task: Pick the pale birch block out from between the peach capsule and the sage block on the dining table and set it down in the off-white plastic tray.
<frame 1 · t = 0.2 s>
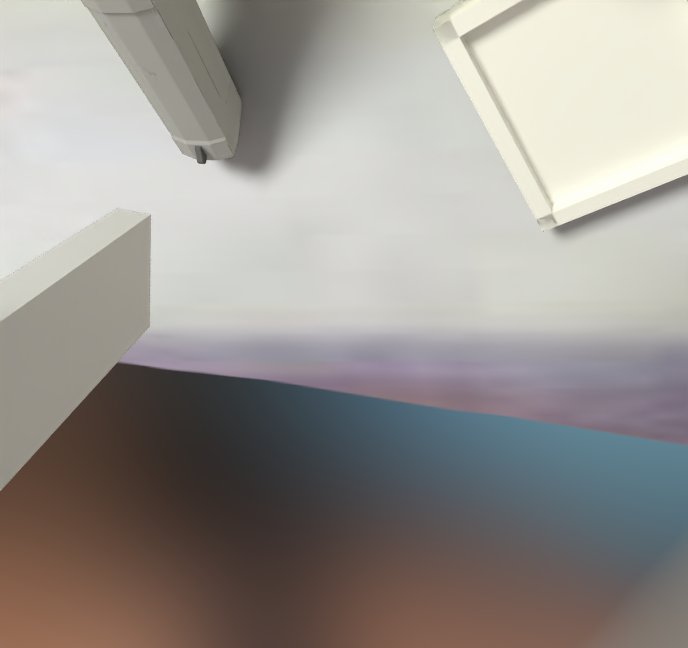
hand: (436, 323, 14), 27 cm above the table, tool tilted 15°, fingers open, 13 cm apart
tray: (594, 73, 36), on the table
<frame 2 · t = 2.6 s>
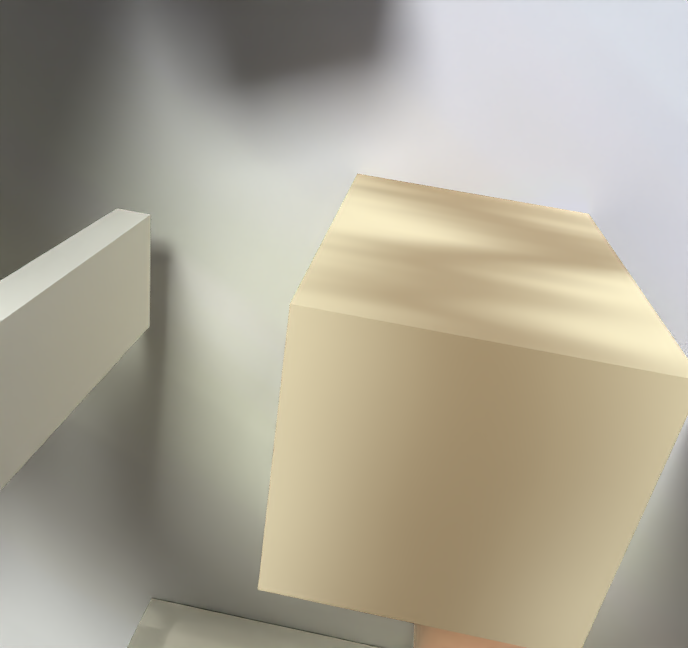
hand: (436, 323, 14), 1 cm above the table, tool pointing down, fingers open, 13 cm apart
peach capsule: (485, 597, 19), on the table
birch block: (447, 298, 15), on the table
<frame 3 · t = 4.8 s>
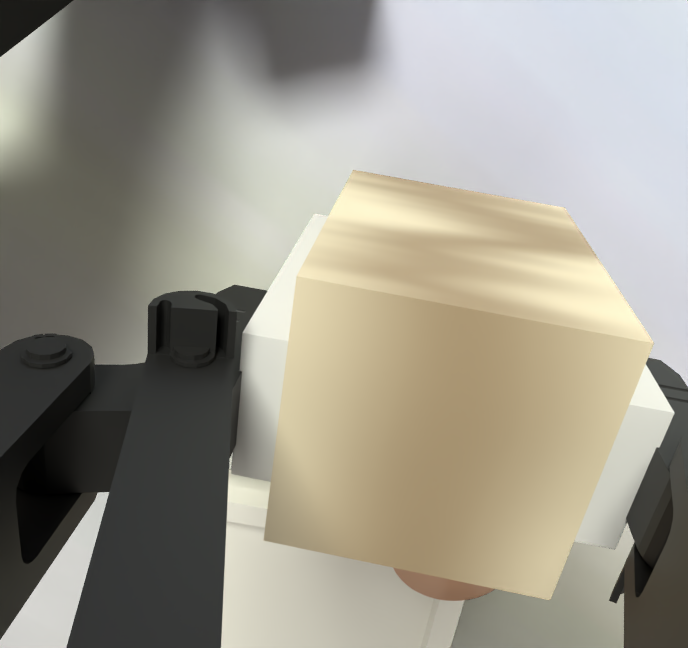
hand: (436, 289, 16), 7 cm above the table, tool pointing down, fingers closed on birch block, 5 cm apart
tray: (316, 605, 31), on the table
peach capsule: (444, 446, 27), on the table
birch block: (435, 286, 17), point 7 cm above the table, touching gripper
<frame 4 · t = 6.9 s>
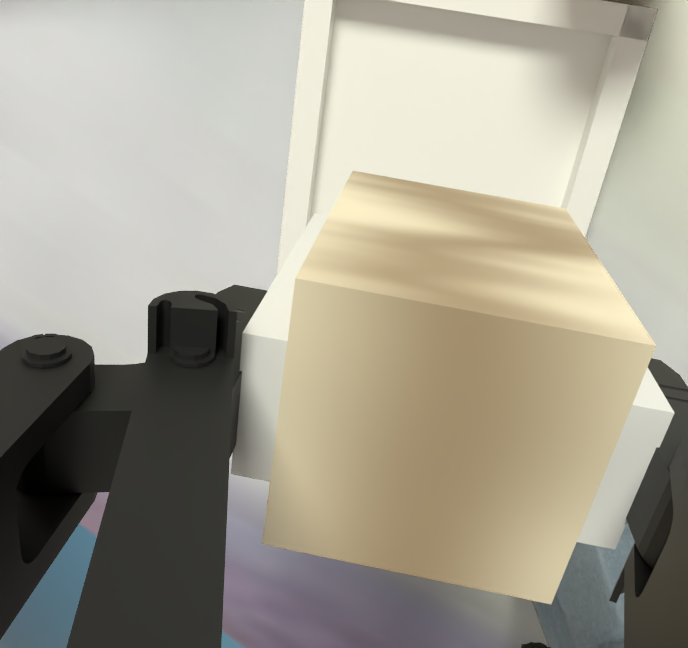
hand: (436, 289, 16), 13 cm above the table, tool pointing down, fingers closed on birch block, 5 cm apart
moka pot: (594, 543, 35), on the table
tray: (439, 171, 27), on the table
birch block: (435, 287, 16), point 12 cm above the table, touching gripper
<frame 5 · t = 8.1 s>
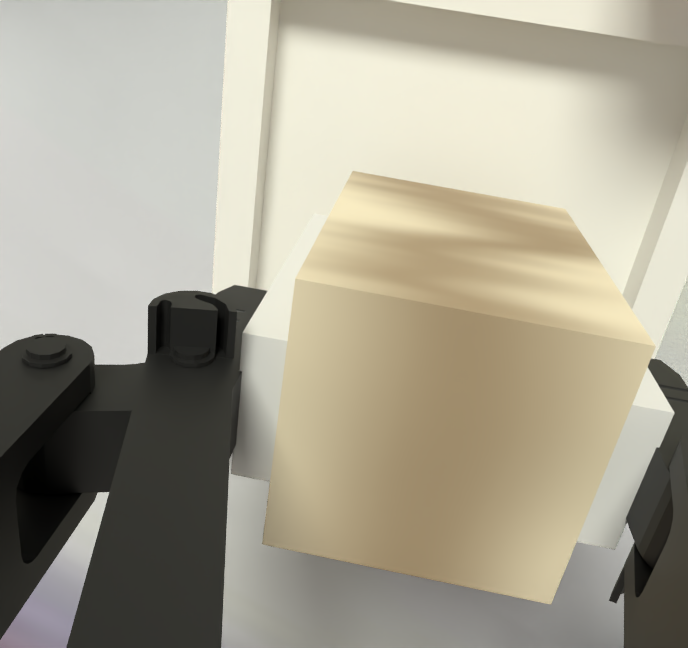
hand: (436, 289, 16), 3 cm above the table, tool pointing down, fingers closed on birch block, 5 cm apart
tray: (439, 245, 19), on the table
birch block: (435, 287, 16), point 3 cm above the table, touching gripper
when the fingers open (2 cm above the table, at t = 9.1 s): birch block stays where it is, resting on tray.
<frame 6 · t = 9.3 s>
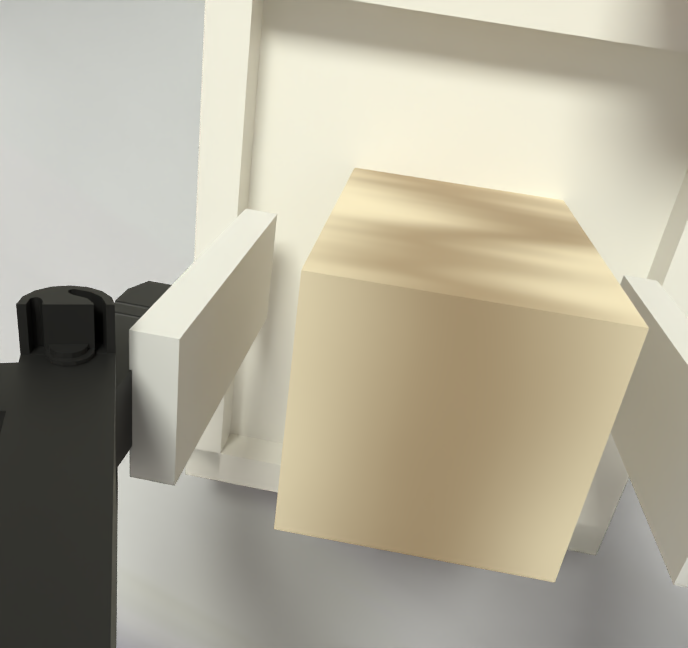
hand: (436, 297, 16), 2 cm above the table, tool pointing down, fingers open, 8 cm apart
tray: (436, 265, 18), on the table
birch block: (438, 280, 17), point 1 cm above the table, touching tray
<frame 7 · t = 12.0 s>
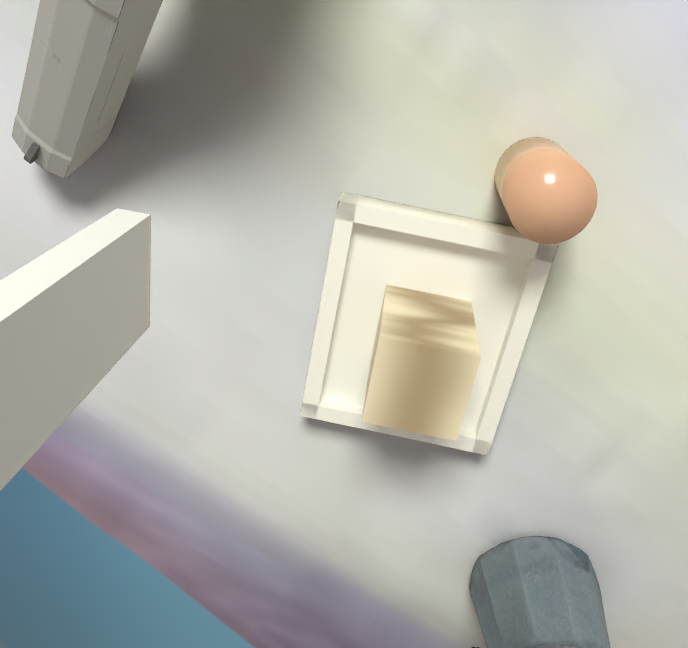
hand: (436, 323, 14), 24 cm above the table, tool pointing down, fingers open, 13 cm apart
moka pot: (525, 575, 48), on the table
tray: (418, 323, 40), on the table
peach capsule: (532, 174, 36), on the table
birch block: (419, 330, 39), point 1 cm above the table, touching tray
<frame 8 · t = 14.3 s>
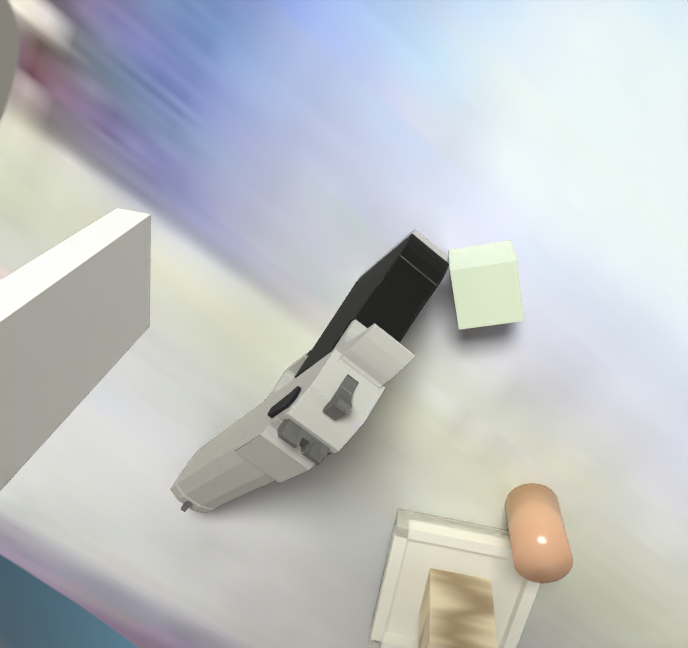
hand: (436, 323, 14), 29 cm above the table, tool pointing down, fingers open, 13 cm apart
sage block: (483, 272, 44), on the table
tray: (453, 585, 56), on the table
handgun: (300, 366, 49), on the table
peach capsule: (531, 504, 51), on the table
birch block: (454, 595, 55), point 1 cm above the table, touching tray
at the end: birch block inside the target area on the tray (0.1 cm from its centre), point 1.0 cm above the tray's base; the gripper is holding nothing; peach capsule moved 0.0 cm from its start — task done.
